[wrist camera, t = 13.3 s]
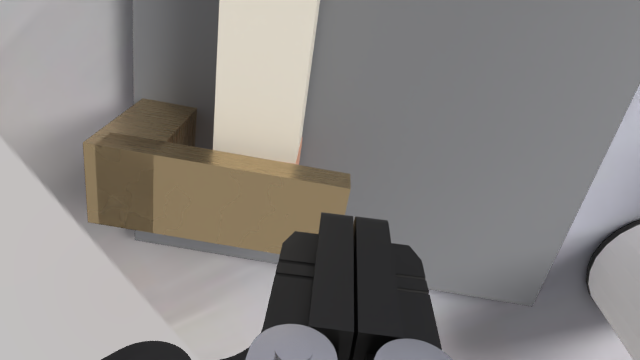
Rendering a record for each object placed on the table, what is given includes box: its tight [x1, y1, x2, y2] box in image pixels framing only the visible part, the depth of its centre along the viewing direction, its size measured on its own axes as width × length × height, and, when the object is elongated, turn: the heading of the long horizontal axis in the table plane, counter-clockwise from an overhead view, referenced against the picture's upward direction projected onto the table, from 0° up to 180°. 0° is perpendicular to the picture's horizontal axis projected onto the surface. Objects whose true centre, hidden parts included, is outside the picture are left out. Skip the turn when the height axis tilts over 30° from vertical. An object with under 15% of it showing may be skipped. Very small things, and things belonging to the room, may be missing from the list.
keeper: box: [83, 98, 351, 254], centre depth 25 cm, size 4×12×8 cm, turn 80°
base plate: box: [132, 0, 640, 306], centre depth 24 cm, size 32×26×2 cm
